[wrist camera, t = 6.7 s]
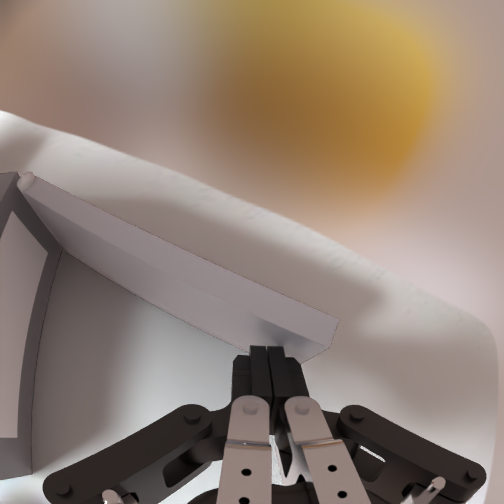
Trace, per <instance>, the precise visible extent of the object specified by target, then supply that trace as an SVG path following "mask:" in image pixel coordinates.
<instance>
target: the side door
mask: <svg viewBox="0 0 504 504" xmlns="http://www.w3.org/2000/svg"><path fill="white" fill-rule="evenodd" d="M17 187H18V188H19V190H20V191H21V192H22V194H23V195H24V197H25V198H26V200H27V201H28V203H29V204H30V205H31V207H32V208H33V210H34V211H35V212H36V214H37V215H38V216H39V218H40V219H41V221H42V222H43V223H44V224H45V226H46V227H47V228H48V230H49V231H50V232H51V234H52V235H53V236H54V237H55V239H56V240H57V241H58V242H59V244H60V245H61V246H62V247H63V249H64V250H65V251H66V252H67V253H69V254H71V255H72V256H74V257H75V258H77V259H78V260H80V261H81V262H83V263H84V264H86V265H87V266H89V267H91V268H92V269H94V270H95V271H97V272H99V273H100V274H102V275H103V276H105V277H107V278H108V279H110V280H112V281H113V282H115V283H117V284H118V285H120V286H122V287H123V288H125V289H127V290H128V291H130V292H132V293H134V294H135V295H137V296H139V297H140V298H142V299H144V300H146V301H148V302H149V303H151V304H153V305H155V306H157V307H158V308H160V309H162V310H164V311H166V312H168V313H169V314H171V315H173V316H175V317H177V318H179V319H181V320H183V321H185V322H186V323H188V324H190V325H192V326H194V327H196V328H198V329H200V330H202V331H204V332H206V333H208V334H210V335H212V336H214V337H216V338H218V339H220V340H223V341H225V342H227V343H229V344H231V345H233V346H235V347H237V348H239V349H242V350H244V351H246V352H248V353H249V347H250V345H257V346H266V349H267V346H281V347H283V348H284V352H285V356H286V357H294V358H295V359H296V360H297V361H298V362H299V363H300V365H301V364H302V363H304V362H306V361H308V360H309V359H311V358H313V357H314V356H316V355H318V354H320V353H321V352H323V351H325V350H326V349H328V348H329V347H330V345H331V342H332V339H333V336H334V333H335V331H336V328H337V325H338V322H339V319H338V318H336V317H333V316H331V315H329V314H326V313H324V312H322V311H319V310H317V309H315V308H312V307H310V306H308V305H305V304H303V303H301V302H299V301H296V300H294V299H292V298H289V297H287V296H285V295H283V294H280V293H278V292H276V291H274V290H271V289H269V288H267V287H265V286H262V285H260V284H258V283H256V282H254V281H251V280H249V279H247V278H245V277H243V276H240V275H238V274H236V273H234V272H232V271H229V270H227V269H225V268H223V267H221V266H218V265H216V264H214V263H212V262H210V261H208V260H205V259H203V258H201V257H199V256H197V255H195V254H193V253H190V252H188V251H186V250H184V249H182V248H180V247H178V246H176V245H174V244H171V243H169V242H167V241H165V240H163V239H161V238H159V237H157V236H155V235H153V234H150V233H148V232H146V231H144V230H142V229H140V228H138V227H136V226H134V225H132V224H130V223H128V222H126V221H124V220H122V219H120V218H118V217H116V216H114V215H112V214H109V213H107V212H105V211H103V210H101V209H99V208H97V207H95V206H93V205H91V204H89V203H87V202H85V201H83V200H81V199H80V198H78V197H76V196H74V195H72V194H70V193H68V192H66V191H64V190H62V189H60V188H58V187H56V186H54V185H52V184H50V183H48V182H46V181H44V180H42V179H41V178H39V177H37V176H34V175H33V173H32V172H27V173H25V174H23V175H22V176H21V177H20V178H19V180H18V182H17Z"/></svg>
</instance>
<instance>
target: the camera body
mask: <svg viewBox="0 0 504 504" xmlns="http://www.w3.org/2000/svg"><path fill="white" fill-rule="evenodd" d="M19 178H20V176H19V175H18V173H17V172H9V173H1V174H0V480H4V479H10V478H16V477H21V476H26V475H31V474H32V462H31V418H32V400H33V388H34V378H35V370H36V362H37V355H38V349H39V343H40V337H41V331H42V326H43V321H44V316H45V312H46V307H47V303H48V299H49V295H50V291H51V287H52V283H53V279H54V276H55V272H56V268H57V265H58V262H59V258H60V255H61V252H62V249H63V247H62V246H61V245H60V244H59V242H58V241H57V240H56V239H55V237H54V236H53V235H52V234H51V232H50V231H49V230H48V228H47V227H46V226H45V224H44V223H43V222H42V221H41V219H40V218H39V216H38V215H37V214H36V212H35V211H34V210H33V208H32V207H31V205H30V204H29V203H28V201H27V200H26V198H25V197H24V195H23V194H22V192H21V191H20V190H19V188H18V187H17V182H18V180H19Z"/></svg>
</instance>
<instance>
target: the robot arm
mask: <svg viewBox="0 0 504 504" xmlns="http://www.w3.org/2000/svg"><path fill="white" fill-rule="evenodd" d="M269 435H275V442H276V446H275V451H276V455H277V460H278V465H279V469H280V474H281V478H282V484H283V486H282V485H276V484H271V445H269ZM361 445H362V446H363V447H365V448H367V449H368V450H370V451H372V452H373V453H375V454H377V455H379V456H380V457H382V458H383V459H384V460H385V462H383V461H381V460H380V459H378V458H376V457H374V456H373V455H371V454H369V453H368V452H366V451H364V450H363V449H361V448H360V447H361ZM218 460H223V463H222V469H221V476H220V483H219V488H216V489H212V490H209V491H206V492H204V493H202V494H200V495H198V496H197V497H195V498H194V499H192V500H191V501H190V502H188V503H187V504H465V503H466V502H467V501H468V500H470V499H471V497H472V496H473V495H474V494H475V493H476V492H477V491H478V490H479V489H480V488H481V487H482V486H483V484H484V483H485V481H486V472H485V470H484V468H483V467H482V466H481V465H480V464H478V463H476V462H473V461H471V460H469V459H466V458H464V457H462V456H460V455H457V454H455V453H453V452H451V451H449V450H447V449H444V448H442V447H440V446H438V445H436V444H434V443H432V442H430V441H428V440H426V439H424V438H422V437H420V436H418V435H416V434H414V433H412V432H410V431H408V430H406V429H404V428H402V427H400V426H398V425H396V424H395V423H393V422H391V421H389V420H387V419H385V418H383V417H382V416H380V415H378V414H376V413H374V412H373V411H371V410H369V409H367V408H365V407H363V406H359V405H349V406H346V407H344V408H343V409H342V410H341V412H340V414H339V413H333V412H328V411H324V410H321V408H320V406H319V404H318V403H317V402H316V401H315V400H313V399H312V398H310V396H309V393H308V389H307V386H306V382H305V379H304V375H303V372H302V368H301V365H300V363H299V362H298V361H297V360H296V359H295V358H294V357H286V356H285V352H284V348H283V347H281V346H267V349H266V346H257V345H250V347H249V356H247V355H238V356H237V357H236V358H235V360H234V361H233V373H232V391H231V402H230V404H229V405H228V406H226V407H225V408H223V409H220V410H216V411H209V410H208V409H206V408H205V407H203V406H200V405H196V404H187V405H183V406H181V407H179V408H177V409H176V410H174V411H172V412H171V413H169V414H167V415H166V416H164V417H162V418H160V419H159V420H157V421H155V422H154V423H152V424H150V425H148V426H147V427H145V428H143V429H141V430H139V431H138V432H136V433H134V434H132V435H130V436H128V437H127V438H125V439H123V440H121V441H119V442H117V443H115V444H113V445H111V446H109V447H108V448H106V449H104V450H102V451H100V452H98V453H96V454H94V455H91V456H89V457H87V458H85V459H83V460H81V461H79V462H77V463H75V464H72V465H70V466H68V467H66V468H64V469H61V470H59V471H57V472H54V473H52V474H50V475H49V476H48V477H47V478H46V479H45V480H44V483H43V493H44V495H45V497H46V498H47V500H48V501H49V502H50V503H51V504H158V503H159V502H161V501H162V500H164V499H165V498H167V497H168V496H170V495H171V494H173V493H174V492H176V491H177V490H178V489H180V488H181V487H183V486H184V485H185V484H187V483H188V482H189V481H191V480H192V479H194V478H195V477H196V476H197V475H199V474H200V473H201V472H203V471H204V470H205V469H207V468H208V467H209V466H210V465H211V463H212V461H218Z"/></svg>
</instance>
